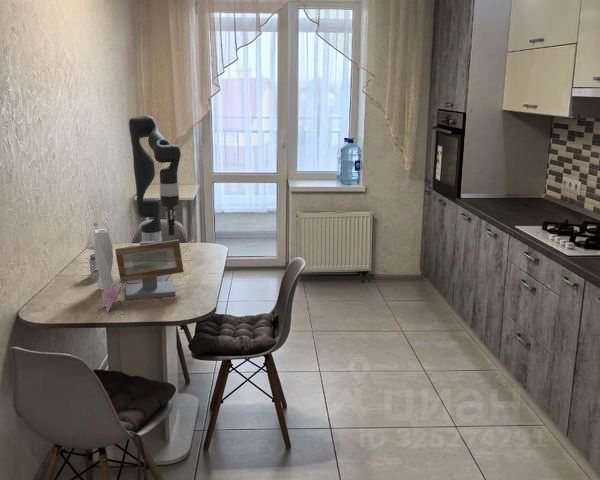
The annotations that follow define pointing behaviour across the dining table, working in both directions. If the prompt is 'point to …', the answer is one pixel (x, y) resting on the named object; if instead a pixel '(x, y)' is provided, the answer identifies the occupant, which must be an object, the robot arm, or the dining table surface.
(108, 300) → the lily
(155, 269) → the picture frame
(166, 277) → the play button award
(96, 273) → the french press
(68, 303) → the dining table surface
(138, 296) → the display stand
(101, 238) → the skyscraper
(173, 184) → the robot arm
